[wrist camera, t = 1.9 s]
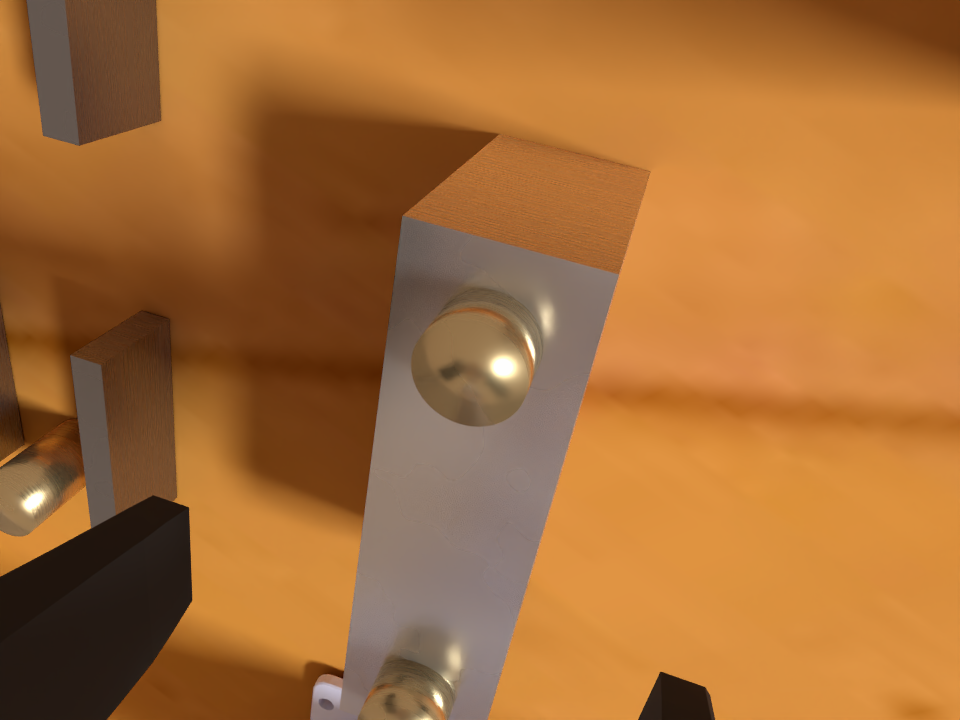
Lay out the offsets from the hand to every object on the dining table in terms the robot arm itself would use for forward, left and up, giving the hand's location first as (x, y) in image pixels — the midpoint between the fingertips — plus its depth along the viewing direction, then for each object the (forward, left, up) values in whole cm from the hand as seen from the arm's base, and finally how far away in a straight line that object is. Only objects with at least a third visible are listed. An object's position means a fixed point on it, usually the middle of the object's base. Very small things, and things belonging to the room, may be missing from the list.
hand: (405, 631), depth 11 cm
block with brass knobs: (0, 0, -8) cm, 8 cm away
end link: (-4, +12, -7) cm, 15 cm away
